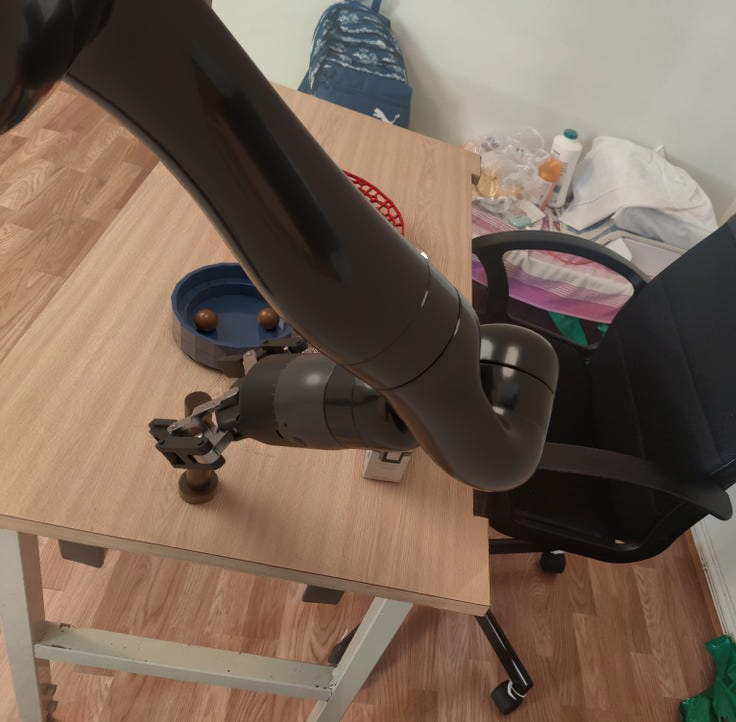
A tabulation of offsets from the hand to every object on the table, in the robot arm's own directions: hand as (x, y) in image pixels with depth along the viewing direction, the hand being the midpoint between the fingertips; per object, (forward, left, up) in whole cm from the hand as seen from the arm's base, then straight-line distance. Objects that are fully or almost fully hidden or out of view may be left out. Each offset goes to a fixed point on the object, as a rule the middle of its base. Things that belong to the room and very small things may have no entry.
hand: (191, 397), depth 56 cm
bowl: (+23, +46, -17) cm, 54 cm away
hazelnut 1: (+4, +24, -14) cm, 28 cm away
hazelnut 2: (+12, +24, -14) cm, 30 cm away
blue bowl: (+8, +24, -17) cm, 30 cm away
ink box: (+23, +1, -17) cm, 28 cm away
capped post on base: (+1, 0, -17) cm, 17 cm away
